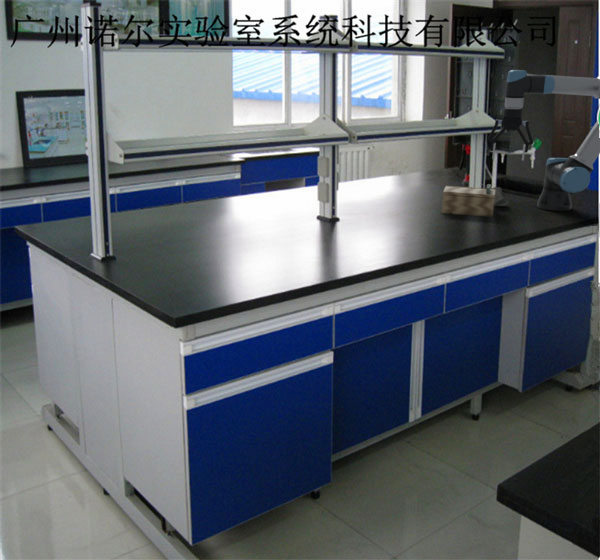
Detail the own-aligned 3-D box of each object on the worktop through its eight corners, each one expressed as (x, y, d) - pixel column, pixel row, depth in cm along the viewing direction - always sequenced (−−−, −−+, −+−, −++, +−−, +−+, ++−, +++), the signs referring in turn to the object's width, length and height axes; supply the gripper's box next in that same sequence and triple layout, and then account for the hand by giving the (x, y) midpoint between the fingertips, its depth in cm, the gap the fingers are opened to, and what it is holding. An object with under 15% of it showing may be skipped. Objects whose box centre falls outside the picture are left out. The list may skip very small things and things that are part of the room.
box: (493, 210, 324) (495, 189, 321) (492, 216, 311) (494, 195, 308) (444, 206, 330) (445, 185, 327) (441, 212, 317) (443, 191, 314)
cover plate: (495, 192, 321) (496, 184, 319) (494, 197, 310) (495, 189, 308) (445, 188, 326) (446, 180, 325) (443, 194, 315) (443, 185, 314)
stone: (500, 182, 333) (488, 184, 327) (513, 199, 330) (501, 201, 323) (487, 196, 340) (475, 198, 333) (500, 212, 336) (487, 214, 330)
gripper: (542, 108, 303) (536, 159, 310) (484, 106, 309) (479, 156, 316) (543, 109, 296) (537, 162, 303) (483, 107, 302) (479, 159, 309)
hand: (507, 159), depth 309 cm, fingers open, 12 cm apart
